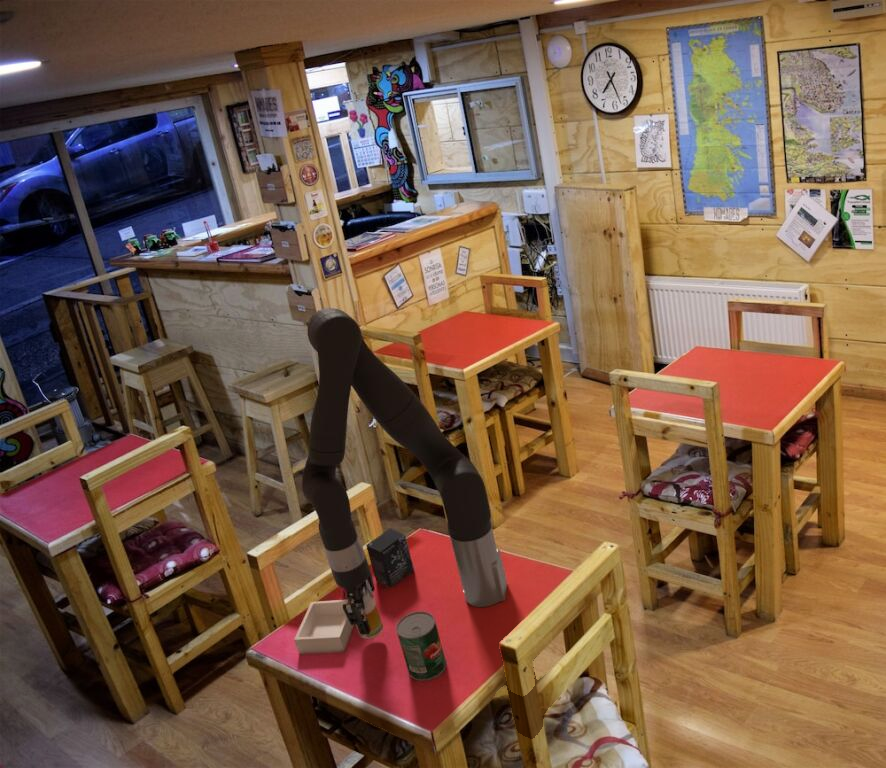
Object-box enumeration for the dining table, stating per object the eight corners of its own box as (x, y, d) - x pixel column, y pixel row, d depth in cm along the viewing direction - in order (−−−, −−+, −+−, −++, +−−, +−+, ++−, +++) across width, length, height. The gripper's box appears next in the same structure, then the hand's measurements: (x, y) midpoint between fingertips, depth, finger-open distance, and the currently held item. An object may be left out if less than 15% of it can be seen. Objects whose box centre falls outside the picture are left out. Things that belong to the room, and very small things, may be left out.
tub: (358, 613, 199) (354, 599, 197) (344, 651, 188) (339, 637, 186) (315, 615, 202) (311, 601, 200) (299, 654, 190) (294, 639, 189)
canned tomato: (407, 658, 182) (395, 615, 178) (444, 649, 182) (433, 607, 178) (409, 685, 175) (396, 641, 170) (448, 676, 175) (436, 632, 170)
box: (391, 589, 205) (380, 551, 201) (375, 581, 209) (364, 544, 205) (415, 570, 209) (405, 533, 205) (399, 563, 213) (389, 527, 209)
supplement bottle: (387, 623, 189) (376, 587, 185) (376, 640, 185) (364, 604, 181) (366, 621, 192) (354, 585, 188) (354, 638, 187) (342, 602, 184)
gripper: (355, 579, 174) (378, 645, 180) (372, 536, 186) (392, 599, 193) (320, 583, 175) (344, 648, 182) (338, 540, 188) (360, 602, 195)
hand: (369, 623), depth 188 cm, fingers closed on supplement bottle, 5 cm apart
